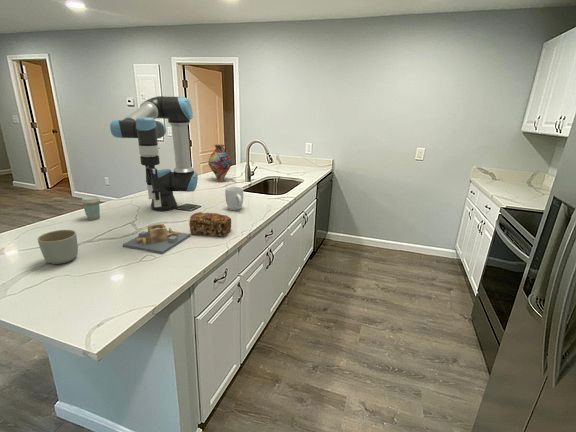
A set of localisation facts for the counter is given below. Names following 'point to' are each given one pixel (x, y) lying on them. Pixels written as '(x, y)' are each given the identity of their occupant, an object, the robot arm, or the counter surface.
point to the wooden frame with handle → (157, 234)
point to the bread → (210, 224)
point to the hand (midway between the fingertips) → (154, 202)
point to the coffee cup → (91, 207)
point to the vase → (220, 163)
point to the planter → (59, 246)
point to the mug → (234, 197)
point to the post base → (157, 246)
